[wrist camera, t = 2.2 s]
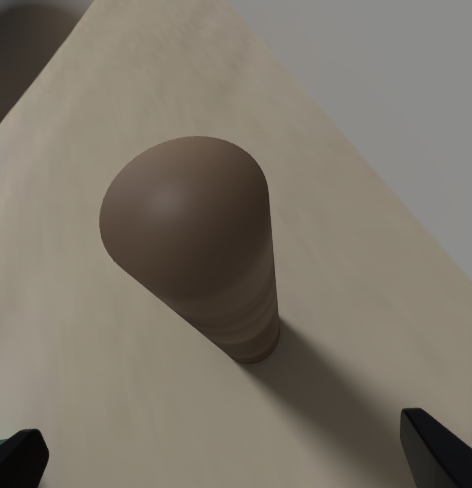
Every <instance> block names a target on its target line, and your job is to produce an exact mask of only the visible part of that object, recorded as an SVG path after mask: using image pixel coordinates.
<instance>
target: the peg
mask: <svg viewBox="0 0 472 488" xmlns="http://www.w3.org/2000/svg"><path fill="white" fill-rule="evenodd" d="M99 224H100V233H101V238H102V241H103V244H104V246H105V248H106V250H107V252H108V254H109V255H110V256H111V258H112V259H113V260H114V261H115V262H116V263H117V264H118V265H119V266H120V267H121V268H122V269H123V270H125V271H126V272H127V273H128V274H129V275H131V276H132V277H133V278H134V279H136V280H137V281H138V282H139V283H140V284H142V285H143V286H144V287H145V288H147V289H148V290H149V291H150V292H151V293H153V294H154V295H155V296H156V297H158V298H159V299H160V300H161V301H162V302H164V303H165V304H166V305H167V306H169V307H170V308H171V309H172V310H174V311H175V312H176V313H177V314H178V315H180V316H181V317H182V318H183V319H185V320H186V321H187V322H188V323H189V324H191V325H192V326H193V327H194V328H196V329H197V330H198V331H199V332H200V333H202V334H203V335H204V336H205V337H207V338H208V339H209V340H210V341H211V342H213V343H214V344H215V345H216V346H218V347H219V348H220V349H221V350H222V351H224V352H225V353H226V354H227V355H229V356H230V357H231V358H233V359H234V360H236V361H239V362H243V363H255V362H258V361H261V360H263V359H265V358H266V357H268V356H269V355H270V354H271V353H272V352H273V350H274V349H275V347H276V345H277V343H278V340H279V334H280V328H279V316H278V303H277V291H276V279H275V266H274V254H273V241H272V229H271V216H270V204H269V192H268V186H267V182H266V179H265V176H264V174H263V172H262V170H261V168H260V166H259V165H258V163H257V162H256V161H255V160H254V159H253V157H252V156H251V155H250V154H248V153H247V152H246V151H244V150H243V149H242V148H240V147H238V146H237V145H235V144H233V143H230V142H228V141H225V140H221V139H218V138H212V137H203V136H193V137H183V138H177V139H173V140H170V141H166V142H164V143H161V144H158V145H156V146H154V147H152V148H150V149H148V150H146V151H144V152H143V153H141V154H140V155H138V156H137V157H136V158H134V159H133V160H132V161H130V162H129V163H128V164H127V165H126V166H125V167H124V168H123V169H122V170H121V171H120V172H119V173H118V175H117V176H116V177H115V179H114V180H113V181H112V183H111V185H110V186H109V188H108V190H107V192H106V194H105V197H104V199H103V202H102V206H101V210H100V218H99Z"/></svg>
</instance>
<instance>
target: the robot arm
mask: <svg viewBox="0 0 472 488" xmlns="http://www.w3.org/2000/svg"><path fill="white" fill-rule="evenodd" d="M400 439H401V444H402V447H403V450H404V453H405V456H406V458H407V461H408V464H409V467H410V470H411V472H412V475H413V478H414V481H415V484H416V486H417V488H472V448H470V447H469V446H468V445H467V444H465V443H464V442H463V441H462V440H461V439H459V438H458V437H457V436H456V435H454V434H453V433H452V432H451V431H449V430H448V429H447V428H446V427H444V426H443V425H442V424H441V423H439V422H438V421H437V420H436V419H434V418H433V417H432V416H431V415H429V414H428V413H427V412H426V411H424V410H423V409H421V408H404V409H402V411H401V421H400ZM48 459H49V450H48V448H47V445H46V443H45V441H44V439H43V436H42V434H41V432H40V431H39V430H38V429H24V430H21V431H19V432H17V433H16V434H14V435H13V436H12V437H10V438H9V439H8V440H6V441H5V442H3V443H2V444H1V445H0V488H38V485H39V483H40V480H41V478H42V475H43V473H44V470H45V468H46V466H47V463H48Z"/></svg>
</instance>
